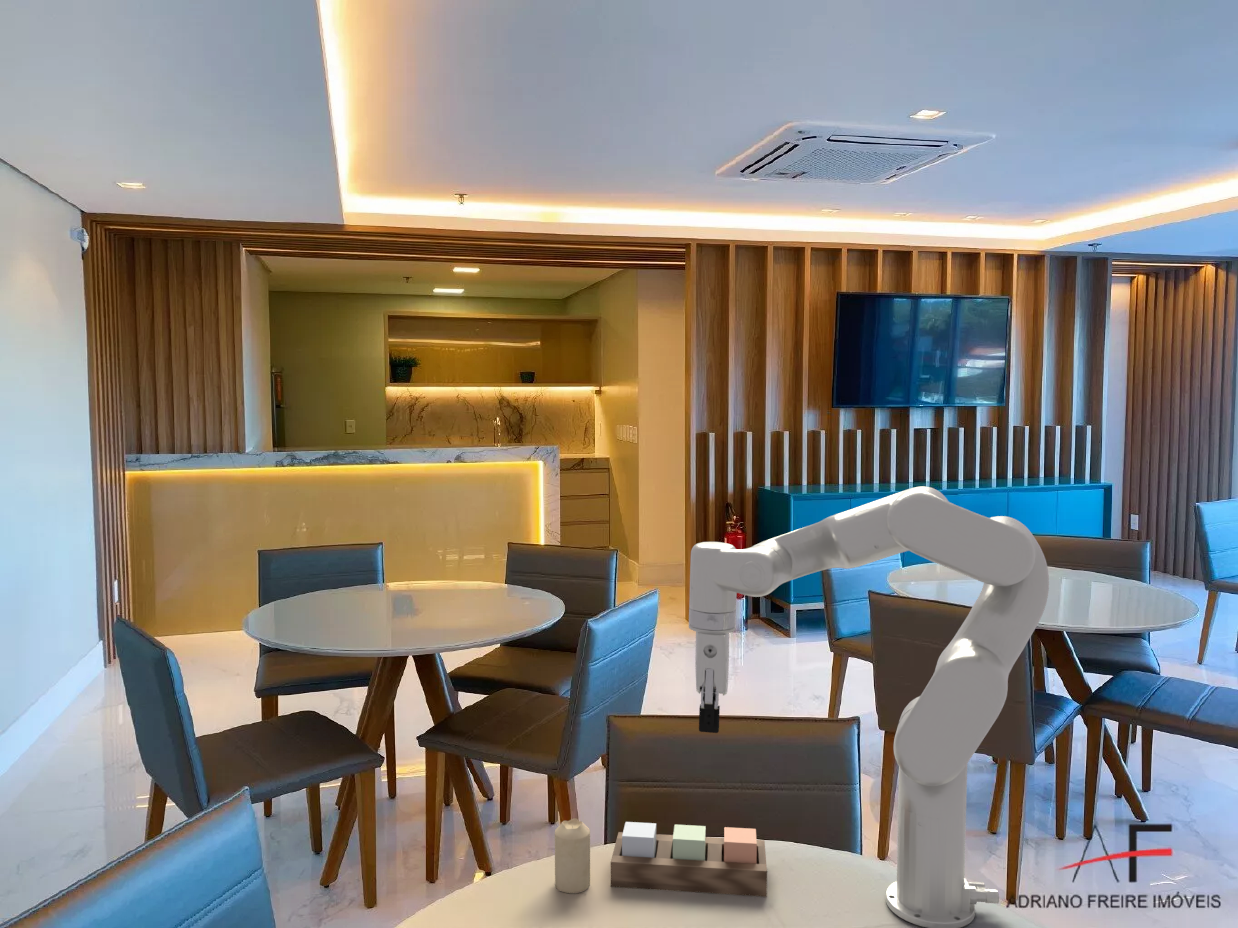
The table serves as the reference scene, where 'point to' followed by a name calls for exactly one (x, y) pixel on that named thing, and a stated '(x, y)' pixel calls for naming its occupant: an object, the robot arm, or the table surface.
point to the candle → (572, 856)
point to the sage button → (689, 842)
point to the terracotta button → (740, 845)
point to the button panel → (690, 870)
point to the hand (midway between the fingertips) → (708, 730)
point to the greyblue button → (639, 839)
